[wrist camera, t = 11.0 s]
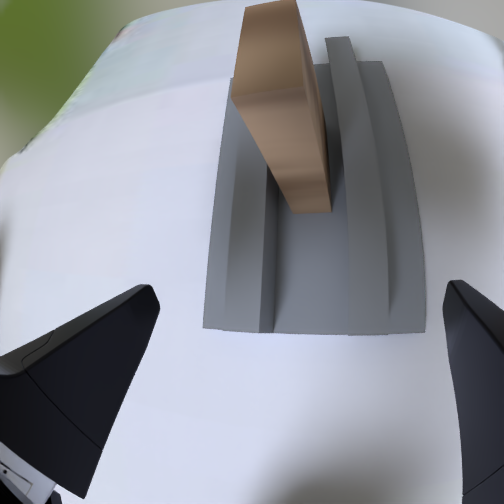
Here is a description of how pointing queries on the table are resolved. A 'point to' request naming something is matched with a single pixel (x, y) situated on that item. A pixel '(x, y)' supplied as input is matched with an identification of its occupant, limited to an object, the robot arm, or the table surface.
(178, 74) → the table surface
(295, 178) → the plaque
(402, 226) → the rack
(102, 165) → the table surface
